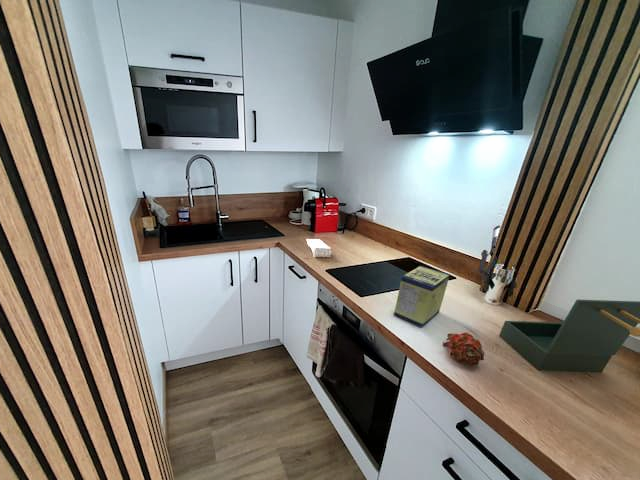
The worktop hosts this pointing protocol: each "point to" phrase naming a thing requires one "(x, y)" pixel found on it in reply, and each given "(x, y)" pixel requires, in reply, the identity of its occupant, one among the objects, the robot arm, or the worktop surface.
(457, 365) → the worktop surface
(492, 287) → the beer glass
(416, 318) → the protein box
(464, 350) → the dragon fruit
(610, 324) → the box lid with handle
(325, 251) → the white rectangular block
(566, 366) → the dark green box base
